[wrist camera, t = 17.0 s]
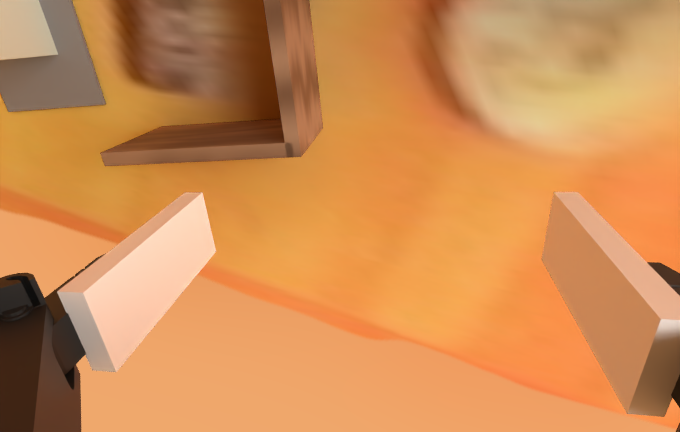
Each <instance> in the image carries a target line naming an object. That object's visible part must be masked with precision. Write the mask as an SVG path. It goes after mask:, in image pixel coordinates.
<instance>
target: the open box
mask: <svg viewBox="0 0 680 432" xmlns="http://www.w3.org/2000/svg"><path fill="white" fill-rule="evenodd" d="M263 2H264V9H265V15H266V22H267V29H268V35H269V42H270V48H271V55H272V62H273V68H274V75H275V82H276V88H277V95H278V101H279V108H280V115H281V119H270V120H255V121H239V122H224V123H208V124H193V125H178V126H162V127H160V128H157V129H155V130H153V131H150V132H148V133H146V134H143V135H141V136H139V137H136V138H134V139H132V140H129V141H127V142H125V143H122V144H120V145H118V146H115V147H113V148H111V149H108V150H106V151H104V152H101V153H100V154H101V156H102V159H103V162H104V165H105V166H119V165H140V164H161V163H181V162H202V161H223V160H243V159H264V158H285V157H301V156H302V155H303V154H304V152H305V151H306V150H307V148H308V147H309V146H310V144H311V143H312V142H313V141H314V139H315V138H316V137H317V135H318V134H319V133H320V131H321V130H322V129H323V123H322V114H321V105H320V96H319V87H318V77H317V68H316V59H315V50H314V41H313V31H312V22H311V13H310V4H309V0H263Z"/></svg>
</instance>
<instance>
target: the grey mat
mask: <svg viewBox="0 0 680 432" xmlns="http://www.w3.org/2000/svg"><path fill="white" fill-rule="evenodd" d="M39 2H40V5H41V8H42V11H43V13H44V16H45V19H46V22H47V25H48V27H49V30H50V33H51V36H52V38H53V41H54V44H55V47H56V50H57V52H58V55H49V56H39V57H29V58H19V59H9V60H0V93H1V96H2V98H3V100H4V103H5V105H6V107H7V110H8V112H13V111H26V110H39V109H53V108H66V107H79V106H92V105H104V104H106V103H105V100H104V97H103V94H102V91H101V88H100V84H99V81H98V78H97V75H96V72H95V69H94V66H93V63H92V60H91V57H90V54H89V51H88V48H87V45H86V42H85V39H84V36H83V33H82V30H81V27H80V24H79V21H78V18H77V15H76V12H75V9H74V6H73V3H72V0H39Z"/></svg>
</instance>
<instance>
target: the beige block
mask: <svg viewBox="0 0 680 432" xmlns="http://www.w3.org/2000/svg"><path fill="white" fill-rule="evenodd" d="M49 55H58V52H57V50H56V47H55V44H54V41H53V38H52V36H51V33H50V30H49V27H48V25H47V22H46V19H45V16H44V13H43V11H42V8H41V5H40V2H39V0H0V60H9V59H19V58H29V57H39V56H49Z"/></svg>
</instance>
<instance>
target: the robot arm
mask: <svg viewBox="0 0 680 432" xmlns="http://www.w3.org/2000/svg"><path fill="white" fill-rule="evenodd" d="M215 252H216V249H215V245H214V240H213V236H212V232H211V227H210V223H209V219H208V214H207V210H206V206H205V201H204V197H203V193H202V192H185V193H183V194H182V195H181V196H180V197H178V198H177V199H176V200H174V201H173V202H172V203H171V204H169V205H168V206H167V207H165V208H164V209H163V210H162V211H160V212H159V213H158V214H156V215H155V216H154V217H153V218H151V219H150V220H149V221H147V222H146V223H145V224H143V225H142V226H141V227H140V228H138V229H137V230H136V231H134V232H133V233H132V234H131V235H129V236H128V237H127V238H125V239H124V240H123V241H122V242H120V243H119V244H118V245H116V246H115V247H114V248H113V249H111V250H110V251H109V252H107V253H106V254H104V255H102V256H100V257H98V258H96V259H95V260H94V261H92V262H91V263H90V264H89V265H87V266H86V267H85V269H82V270H81V271H79V272H78V273H77V274H76V275H75V276H73V277H72V278H70V279H69V280H67V281H66V282H65V283H64V284H62V285H61V286H60V287H58V288H57V289H56V290H54V291H53V292H52V293H51V294H49V295H48V296H47V297H45V298H44V297H43V294H42V293H41V290H40V288H39V286H38V284H37V282H36V280H35V277H34V275H32V274H29V273H17V274H12V275H8V276H5V277H2V278H0V432H81V399H80V398H81V396H80V395H81V394H80V373H79V370H78V368H77V366H76V363H77V362H78V361H79V360H80V359H81V358H82V357H83V356H84V355H86V357H87V359H88V361H89V364H90V366H91V368H92V370H96V371H109V372H117V371H118V369H119V368H120V367H121V366H122V365H123V363H124V362H125V361H126V360H127V359H128V357H129V356H130V355H131V354H132V353H133V351H134V350H135V349H136V348H137V346H138V345H139V344H140V343H141V342H142V340H143V339H144V338H145V337H146V336H147V334H148V333H149V332H150V331H151V330H152V328H153V327H154V326H155V325H156V323H157V322H158V321H159V320H160V319H161V318H162V316H163V315H164V314H165V313H166V311H167V310H168V309H169V308H170V307H171V305H172V304H173V303H174V302H175V301H176V299H177V298H178V297H179V296H180V295H181V293H182V292H183V291H184V290H185V289H186V287H187V286H188V285H189V284H190V282H191V281H192V280H193V279H194V278H195V276H196V275H197V274H198V273H199V272H200V270H201V269H202V268H203V267H204V266H205V264H206V263H207V262H208V261H209V260H210V258H211V257H212V256H213V255H214V253H215ZM542 261H543V263H544V265H545V267H546V269H547V270H548V272H549V274H550V276H551V278H552V279H553V281H554V283H555V285H556V287H557V289H558V290H559V292H560V294H561V296H562V298H563V299H564V301H565V303H566V305H567V307H568V308H569V310H570V312H571V314H572V316H573V317H574V319H575V321H576V323H577V325H578V326H579V328H580V330H581V332H582V334H583V335H584V337H585V339H586V341H587V343H588V344H589V346H590V348H591V350H592V352H593V353H594V355H595V357H596V359H597V361H598V362H599V364H600V366H601V368H602V370H603V371H604V373H605V375H606V377H607V379H608V380H609V382H610V384H611V386H612V388H613V389H614V391H615V393H616V395H617V397H618V398H619V400H620V402H621V404H622V406H623V407H624V409H625V411H626V413H627V414H637V415H649V416H661V417H664V416H665V414H666V412H667V409H668V407H669V404H670V402H671V400H672V397H673V399H674V400H675V402H676V403H677V405H678V406H679V407H680V273H678V272H676V271H674V270H672V269H671V268H669V267H667V266H665V265H663V264H661V263H652V262H646V261H645V260H644V259H643V258H642V257H641V256H640V255H639V254H638V253H637V252H636V251H635V250H634V249H633V248H632V247H631V246H630V245H629V244H628V243H627V242H626V241H625V240H624V239H623V238H622V237H621V236H620V235H619V234H618V233H617V232H616V231H615V230H614V229H613V228H612V227H611V225H610V224H609V223H608V222H607V221H606V220H605V219H604V218H603V217H602V216H601V215H600V214H599V213H598V212H597V211H596V210H595V209H594V208H593V207H592V206H591V205H590V204H589V203H588V202H587V201H586V200H585V199H584V198H583V197H582V196H581V195H580V194H579V193H578V192H554V193H553V199H552V204H551V210H550V215H549V221H548V226H547V232H546V237H545V243H544V249H543V254H542ZM676 432H680V423H679V426H678V428H677V430H676Z"/></svg>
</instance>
